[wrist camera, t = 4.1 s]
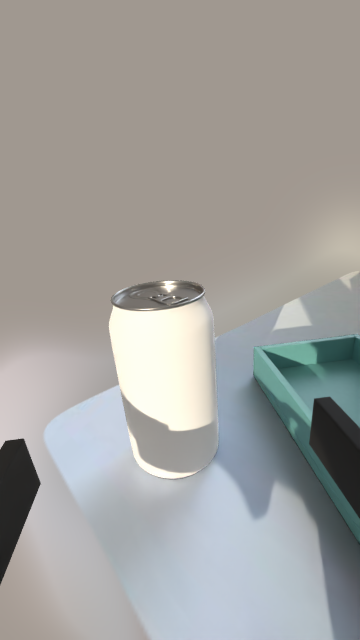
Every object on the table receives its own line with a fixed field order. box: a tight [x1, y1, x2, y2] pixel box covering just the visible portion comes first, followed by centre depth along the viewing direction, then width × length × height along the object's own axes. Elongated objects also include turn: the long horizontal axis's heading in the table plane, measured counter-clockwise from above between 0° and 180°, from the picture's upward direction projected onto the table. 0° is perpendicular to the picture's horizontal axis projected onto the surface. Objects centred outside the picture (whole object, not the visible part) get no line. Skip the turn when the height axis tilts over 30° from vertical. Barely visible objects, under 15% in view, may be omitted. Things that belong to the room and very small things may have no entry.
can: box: [109, 280, 219, 479], centre depth 19 cm, size 6×6×12 cm
